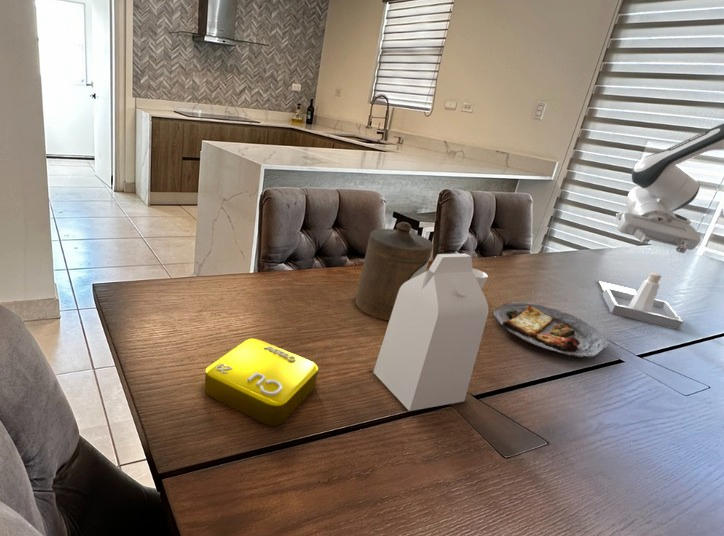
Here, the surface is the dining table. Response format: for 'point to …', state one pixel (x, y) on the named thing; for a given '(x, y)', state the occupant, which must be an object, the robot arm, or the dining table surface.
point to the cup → (480, 277)
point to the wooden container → (390, 267)
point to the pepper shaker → (646, 293)
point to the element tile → (261, 381)
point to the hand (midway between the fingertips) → (664, 246)
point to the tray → (658, 314)
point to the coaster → (616, 287)
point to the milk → (434, 335)
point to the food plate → (550, 329)
